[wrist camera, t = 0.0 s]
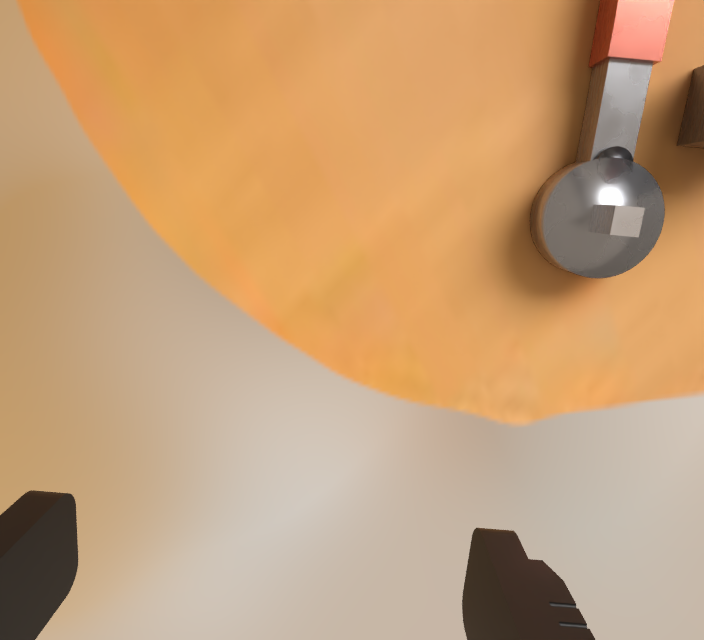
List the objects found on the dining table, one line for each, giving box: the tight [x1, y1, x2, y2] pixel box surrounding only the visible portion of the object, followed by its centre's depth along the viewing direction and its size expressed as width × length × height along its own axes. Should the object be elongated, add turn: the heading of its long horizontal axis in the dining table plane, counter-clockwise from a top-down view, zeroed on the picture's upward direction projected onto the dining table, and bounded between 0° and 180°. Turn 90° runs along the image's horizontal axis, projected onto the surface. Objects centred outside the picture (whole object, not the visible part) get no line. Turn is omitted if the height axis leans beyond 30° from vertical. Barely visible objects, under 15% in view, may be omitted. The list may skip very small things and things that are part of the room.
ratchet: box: [530, 0, 674, 278], centre depth 33 cm, size 20×8×6 cm, turn 175°
